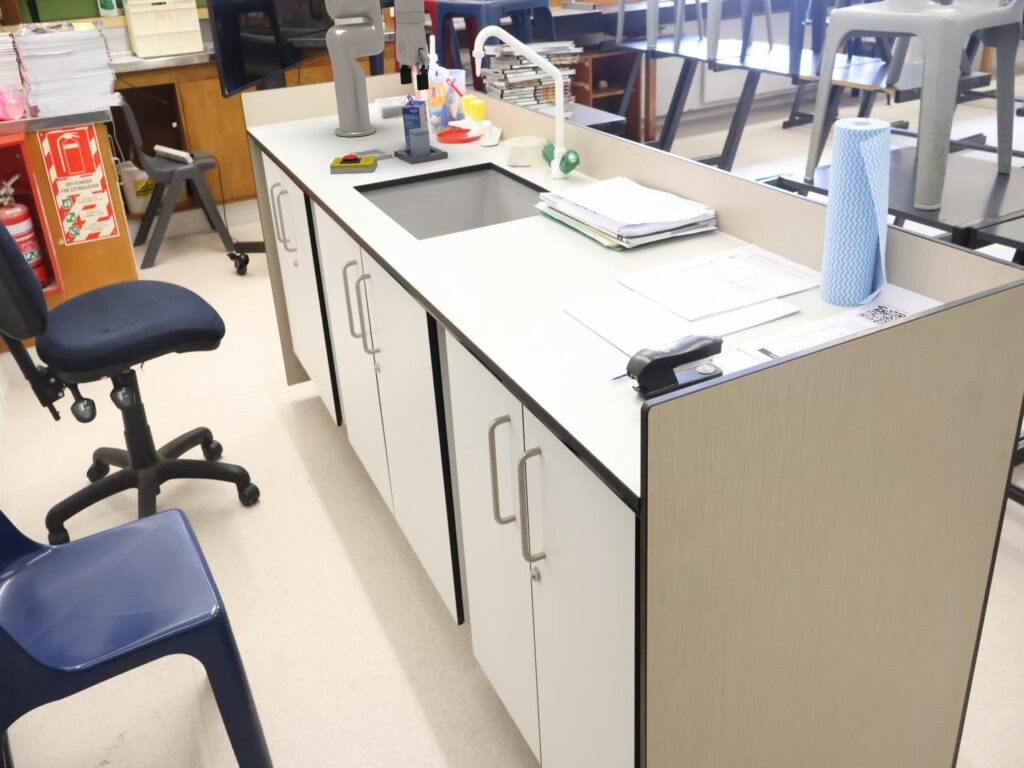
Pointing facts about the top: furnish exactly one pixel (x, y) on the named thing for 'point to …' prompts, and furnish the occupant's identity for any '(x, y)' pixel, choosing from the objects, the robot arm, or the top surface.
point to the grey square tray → (373, 153)
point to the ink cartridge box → (414, 117)
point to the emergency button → (353, 164)
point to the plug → (419, 141)
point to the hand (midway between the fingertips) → (414, 86)
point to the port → (407, 157)
